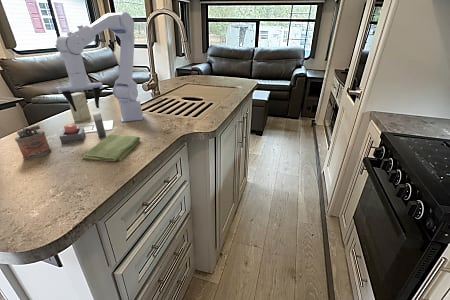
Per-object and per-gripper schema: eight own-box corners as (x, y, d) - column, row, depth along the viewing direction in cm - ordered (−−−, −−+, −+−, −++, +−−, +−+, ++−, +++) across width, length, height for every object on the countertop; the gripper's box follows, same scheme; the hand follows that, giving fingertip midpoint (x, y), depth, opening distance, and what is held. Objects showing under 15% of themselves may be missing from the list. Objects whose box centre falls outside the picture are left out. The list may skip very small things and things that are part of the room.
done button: (78, 129, 93) (76, 123, 92) (76, 132, 90) (75, 126, 89) (66, 130, 92) (65, 124, 91) (64, 134, 89) (62, 128, 87)
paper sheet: (113, 120, 111) (113, 119, 111) (112, 129, 101) (112, 128, 101) (71, 125, 105) (71, 124, 105) (66, 135, 95) (66, 134, 95)
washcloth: (81, 162, 77) (78, 153, 75) (111, 139, 92) (109, 132, 91) (119, 165, 75) (117, 156, 74) (143, 141, 91) (142, 133, 89)
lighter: (26, 161, 76) (14, 132, 72) (21, 159, 78) (9, 130, 73) (53, 151, 82) (43, 124, 78) (48, 149, 84) (38, 122, 80)
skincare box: (82, 122, 109) (74, 95, 104) (73, 121, 110) (65, 95, 104) (91, 117, 115) (84, 92, 109) (83, 117, 115) (76, 91, 110)
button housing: (85, 134, 96) (83, 127, 95) (83, 141, 90) (80, 133, 89) (65, 136, 94) (63, 129, 93) (61, 143, 88) (59, 136, 87)
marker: (106, 134, 96) (101, 112, 92) (105, 136, 94) (100, 115, 90) (98, 135, 95) (93, 113, 91) (98, 138, 93) (92, 115, 89)
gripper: (96, 69, 92) (104, 103, 99) (52, 73, 85) (63, 110, 91) (100, 71, 87) (108, 107, 93) (53, 75, 80) (65, 114, 86)
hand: (86, 109), depth 92 cm, fingers open, 7 cm apart
